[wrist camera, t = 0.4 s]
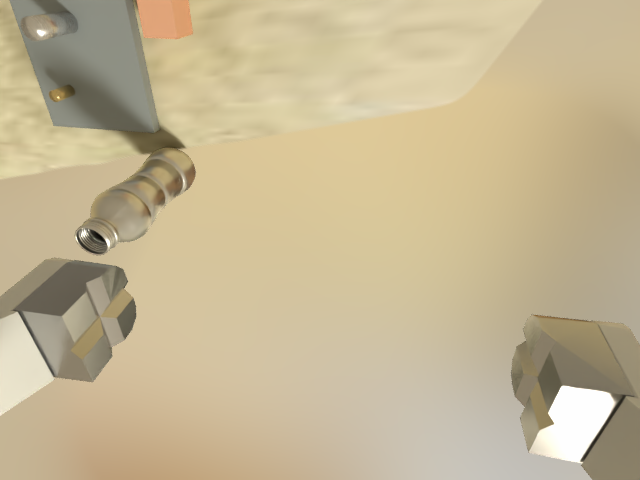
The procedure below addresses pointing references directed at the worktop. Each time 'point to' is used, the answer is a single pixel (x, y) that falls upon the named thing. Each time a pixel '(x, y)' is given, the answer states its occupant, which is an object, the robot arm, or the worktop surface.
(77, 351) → the robot arm
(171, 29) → the orange hollow block
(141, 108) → the board
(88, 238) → the plastic bottle
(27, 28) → the post
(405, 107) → the worktop surface
